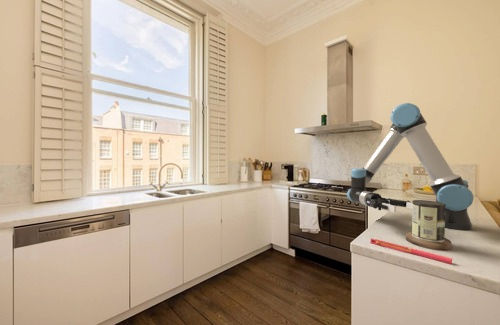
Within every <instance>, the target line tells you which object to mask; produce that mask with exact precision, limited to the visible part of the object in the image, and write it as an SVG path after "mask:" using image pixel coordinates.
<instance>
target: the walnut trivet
mask: <svg viewBox="0 0 500 325" xmlns="http://www.w3.org/2000/svg"><path fill="white" fill-rule="evenodd" d="M405 240H406V242H408V243H410V244H412V245H414V246H418V247H421V248H425V249H429V250H436V251H450V250H452V243H453V242H452V241H451V240H450V239H448V238H446V237H445V241H444V242H429V241H424V240H420V239H417V238H415V237H413V236H412V231H409V232H406V234H405Z"/></svg>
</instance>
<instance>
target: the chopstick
mask: <svg viewBox="0 0 500 325" xmlns="http://www.w3.org/2000/svg"><path fill="white" fill-rule="evenodd" d="M370 244H374V245H378V246H382V247H385V248H388V249H392V250H397V251H400V252H403V253H409V254H412V255H416V256H419V257H422V258H427V259H430V260H434V261H438V262H442V263H445V264H450V265H452V264H453V260H454V258H453V257H449V256H446V255H445V256H444V255H441V254H436V253H433V252H429V251H425V250H420V249H417V248H413V247H409V246H405V245H400V244H398V243H397V244H396V243H394V242H390V241H385V240H382V239H377V238H375V239H374V238H370Z"/></svg>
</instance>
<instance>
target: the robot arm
mask: <svg viewBox="0 0 500 325" xmlns="http://www.w3.org/2000/svg"><path fill="white" fill-rule="evenodd" d="M390 120H391V123H392V124H391V126H390V127H389V131H388V133H387V134H386V135H385V137H384V139H383V140H382V141H381V143H380V144H379V145H378V147H376V149H375V150H374V152H373V153H372V154H371V156H370V157H369V159H368V160H367V161H366V163H365V164H364V165H363V166H362V168H352V169H351V174H350V176H351V177H350V180H351V181H350V188H349V189H348V190H347V192H346V197H347V200H349V201H351V202H353V203H357V204H360V205H363V206H364V205H365V207H370V208H373V209H377V210H378V211H382V210H384V211H386V212H387V211H388V212H392V213H396V212H397V211H396V210H397V207H402V208H406V209H410V210H412V207H413V203H412V202H411V201H410V200H408V199H407V200H401V199H395V198H394V199H393V198H385V197H382V196H381V194H380V193H376V192H372V191H368V190H366V189H367V188H366V187H367V186H366V184H368V183H370V182H371V181H372V179H373V178H374V176H375V174H376V173H377V172H378V171H379V169H380V168H381V167H382V165H383V164H384V163H385V161H386V160H387V159H388V158H389V157H390V155H391V154H392V153H393V152H394V150H396V148H397V147H398V145H399V144H400V143H401V141H403V139H404V138H406V140H407V142H408V143H409V145H410V147H411V148H412V150H413V153H415V155H416V157H417V158H418V161H419V162H420V164H421V166H422V168H423V169H424V170H425V172H426V174H427V175H428V177H429V179H430V184H429V187H430V188H431V190H432V192H433V193H434V195H435V197H436V198H435V201H436V202H441V203H444V204H446V206H445V228H446V229H447V228H448V229H454V230H461V231H469V230H472V229H473V223H472V221H471V219H470V216H469V214H468V208H469V207H471V206H472V204H473V202H474V194H473V192H472V191H471V190H470V189H469V186H470V185H469V182H468V180H465V179H463V178H462V176H461V175H458V174H456V173H454V172H453V169H452V168H451V167H450V165H449V164H448V162H447V161H446V159H445V157H444V155H443V153H441V151H440V149H439V148H438V146H437V145H436V143H435V142H434V140H433V138H432V136H431V135H430V133H429V132H428V130H427V128H426V127H427V125H428V123H427V121H426V119H425V117H424V116H423V114H422V113H421V110H420V108H419V107H418V106H417V105H416V104H413V103H409V102H405V103H401V104H399V105H397V106H395V107H394V108H393V109H392V111H391V113H390Z"/></svg>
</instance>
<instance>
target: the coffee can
mask: <svg viewBox="0 0 500 325" xmlns="http://www.w3.org/2000/svg"><path fill="white" fill-rule="evenodd" d="M411 201H412V202H411V203H413V207H412V209H411V210H412V212H411V218H412V220H411V223H412V224H411V226H412V227H411V232H412V236H413V237H415V238H417V239H420V240H424V241H429V242H444V241H445V238H446V236H445V235H446V234H445V233H446V229H445V228H446V227H445V206H446V204H444V203H441V202H436V200H435V201H434V200H424V199H415V200H411Z"/></svg>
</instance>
